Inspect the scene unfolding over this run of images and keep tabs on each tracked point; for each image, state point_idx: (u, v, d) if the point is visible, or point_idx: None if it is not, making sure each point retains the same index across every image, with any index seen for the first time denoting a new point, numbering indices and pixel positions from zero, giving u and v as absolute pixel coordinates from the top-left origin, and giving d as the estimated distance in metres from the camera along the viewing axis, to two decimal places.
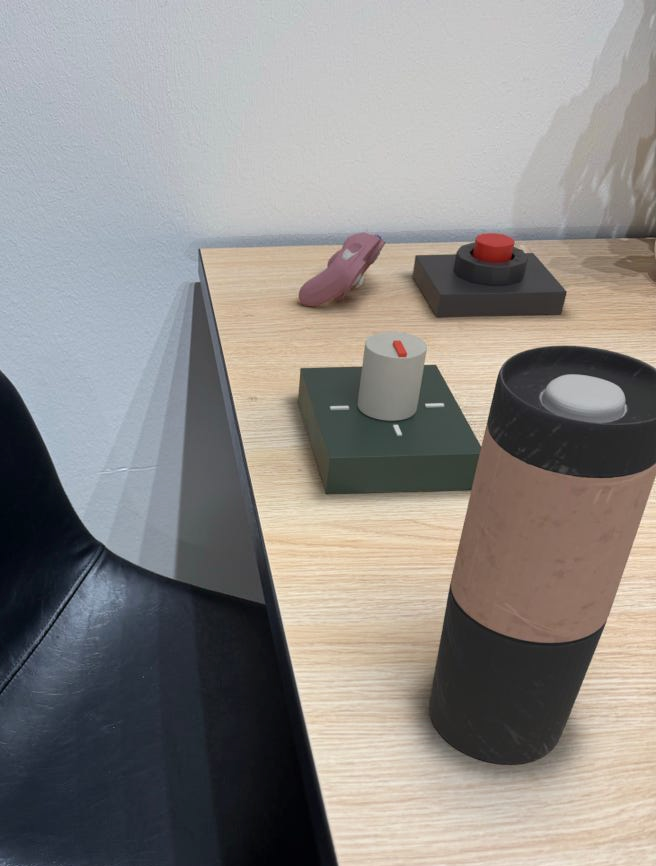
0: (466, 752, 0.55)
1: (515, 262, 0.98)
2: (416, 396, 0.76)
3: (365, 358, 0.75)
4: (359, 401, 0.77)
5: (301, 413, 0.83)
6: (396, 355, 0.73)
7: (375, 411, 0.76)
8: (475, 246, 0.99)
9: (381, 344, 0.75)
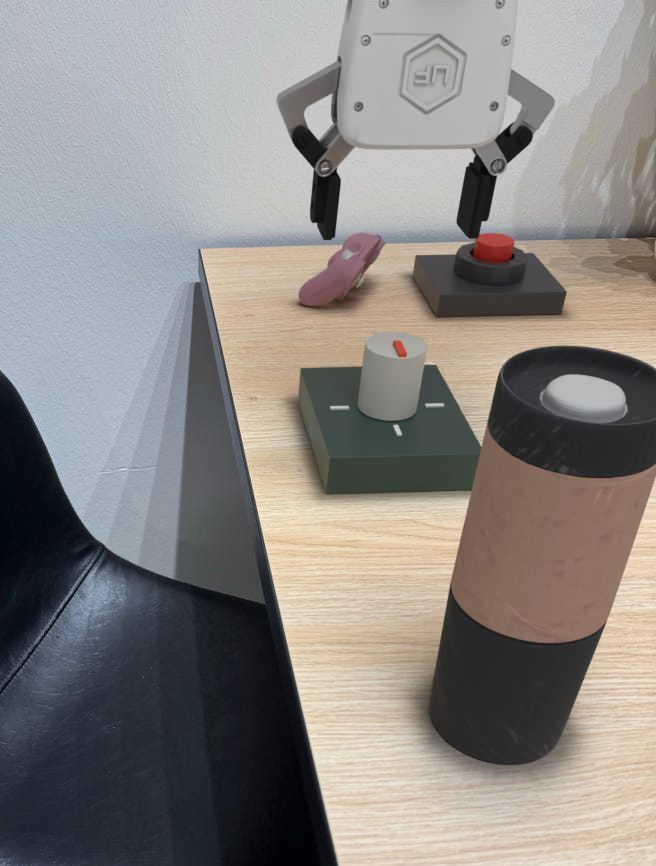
0: (466, 752, 0.55)
1: (515, 262, 0.98)
2: (416, 396, 0.76)
3: (365, 358, 0.75)
4: (359, 401, 0.77)
5: (301, 413, 0.83)
6: (396, 355, 0.73)
7: (375, 411, 0.76)
8: (475, 246, 0.99)
9: (381, 344, 0.75)
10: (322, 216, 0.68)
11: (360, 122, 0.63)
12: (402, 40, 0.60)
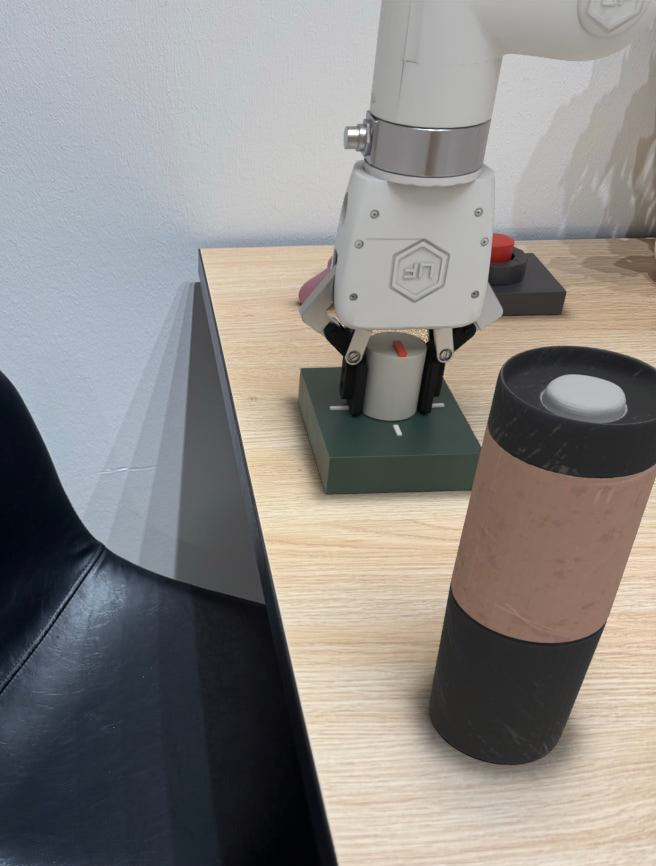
0: (466, 752, 0.55)
1: (515, 262, 0.98)
2: (416, 396, 0.76)
3: (365, 358, 0.75)
4: None
5: (301, 413, 0.83)
6: (396, 355, 0.73)
7: (375, 411, 0.76)
8: None
9: (381, 344, 0.75)
10: (351, 394, 0.76)
11: (355, 309, 0.70)
12: (391, 244, 0.67)
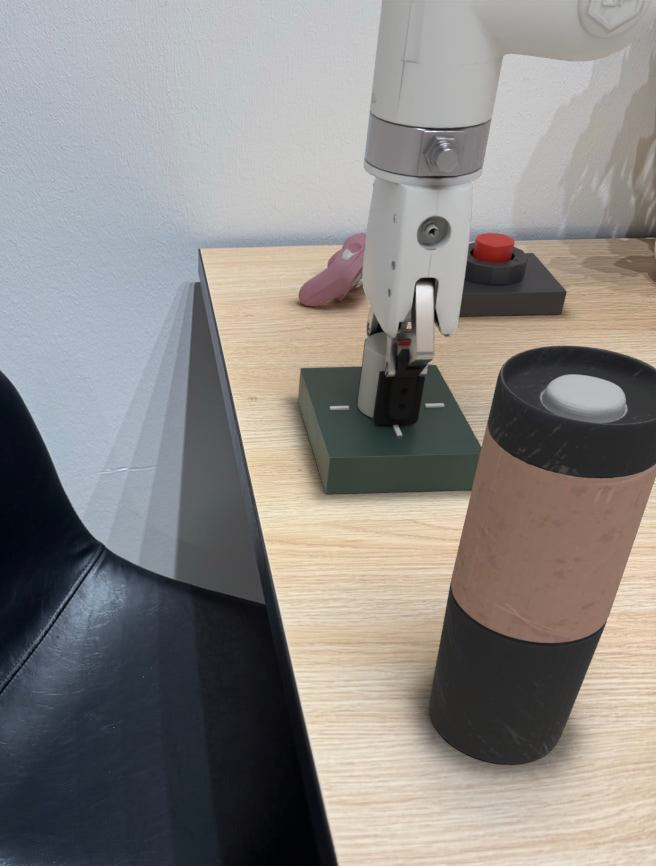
0: (466, 752, 0.55)
1: (515, 262, 0.98)
2: None
3: None
4: None
5: (301, 413, 0.83)
6: None
7: None
8: (475, 246, 0.99)
9: (399, 350, 0.74)
10: None
11: None
12: None
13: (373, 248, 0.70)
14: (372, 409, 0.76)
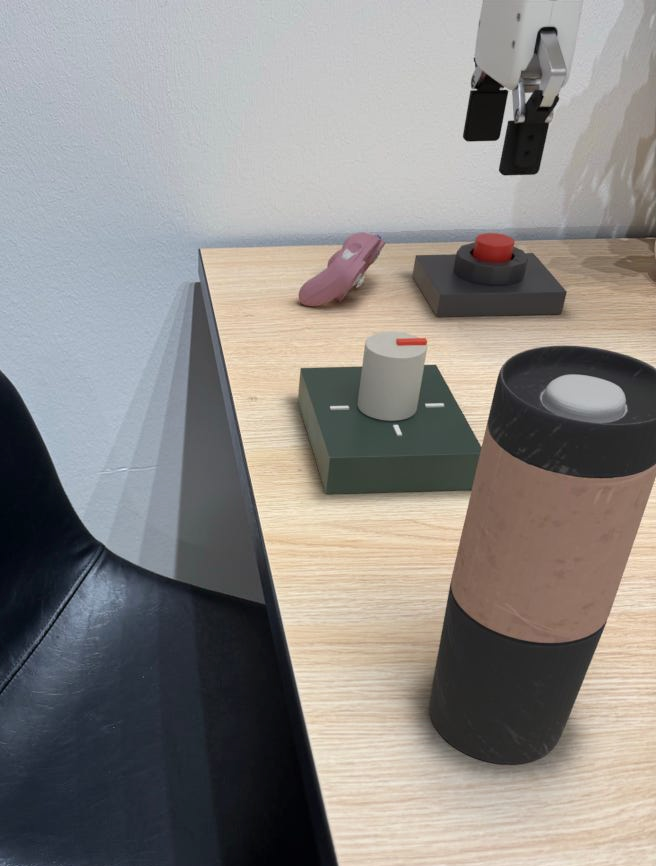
0: (466, 752, 0.55)
1: (515, 262, 0.98)
2: None
3: (404, 369, 0.74)
4: (396, 413, 0.76)
5: (301, 413, 0.83)
6: (422, 345, 0.74)
7: (415, 407, 0.77)
8: (475, 246, 0.99)
9: (399, 350, 0.74)
10: None
11: None
12: None
13: (494, 13, 0.82)
14: (372, 409, 0.76)
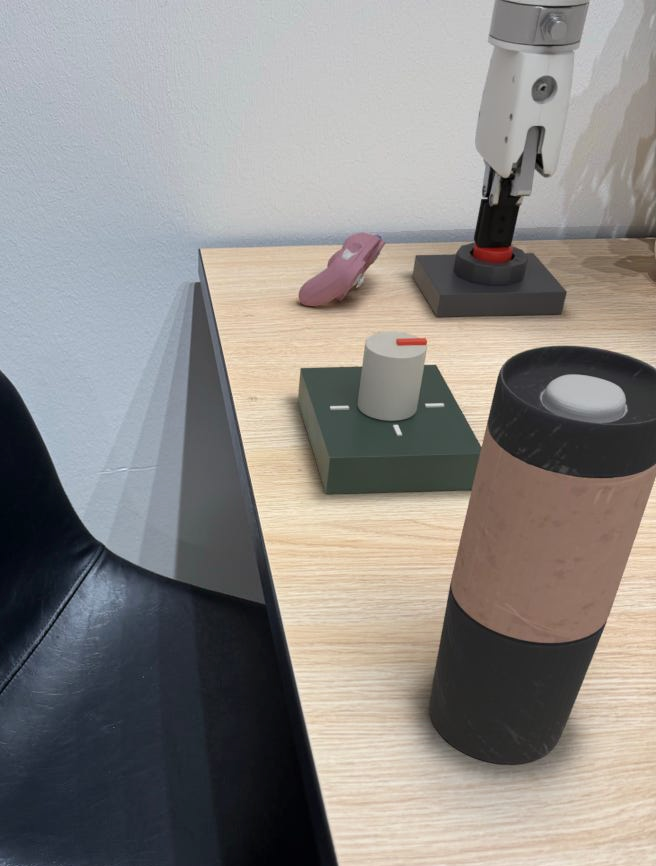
0: (466, 752, 0.55)
1: (515, 262, 0.98)
2: None
3: (404, 369, 0.74)
4: (396, 413, 0.76)
5: (301, 413, 0.83)
6: (422, 345, 0.74)
7: (415, 407, 0.77)
8: (474, 252, 0.99)
9: (399, 350, 0.74)
10: None
11: None
12: None
13: (490, 109, 0.91)
14: (372, 409, 0.76)
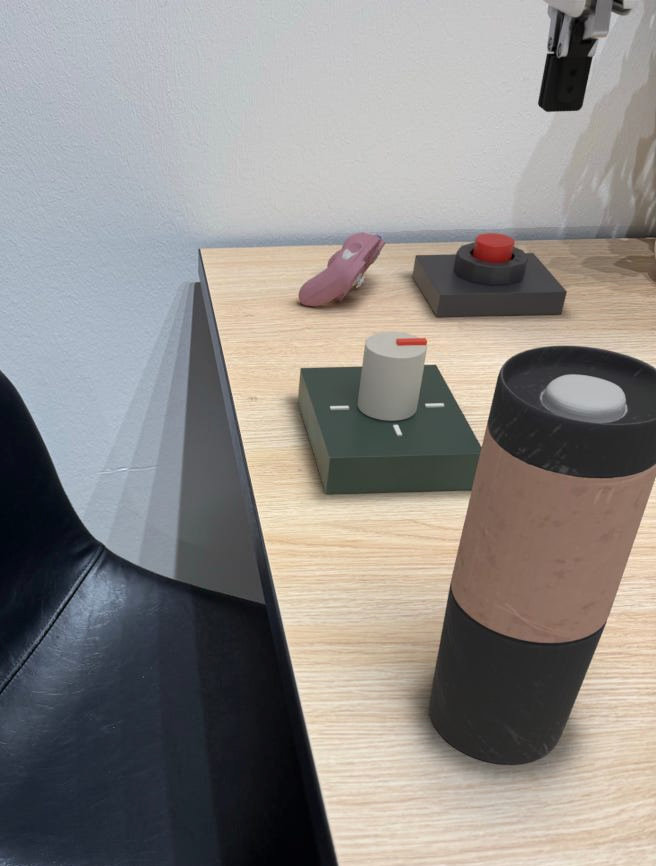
0: (466, 752, 0.55)
1: (515, 262, 0.98)
2: None
3: (404, 369, 0.74)
4: (396, 413, 0.76)
5: (301, 413, 0.83)
6: (422, 345, 0.74)
7: (415, 407, 0.77)
8: (475, 246, 0.99)
9: (399, 350, 0.74)
10: None
11: None
12: None
13: None
14: (372, 409, 0.76)
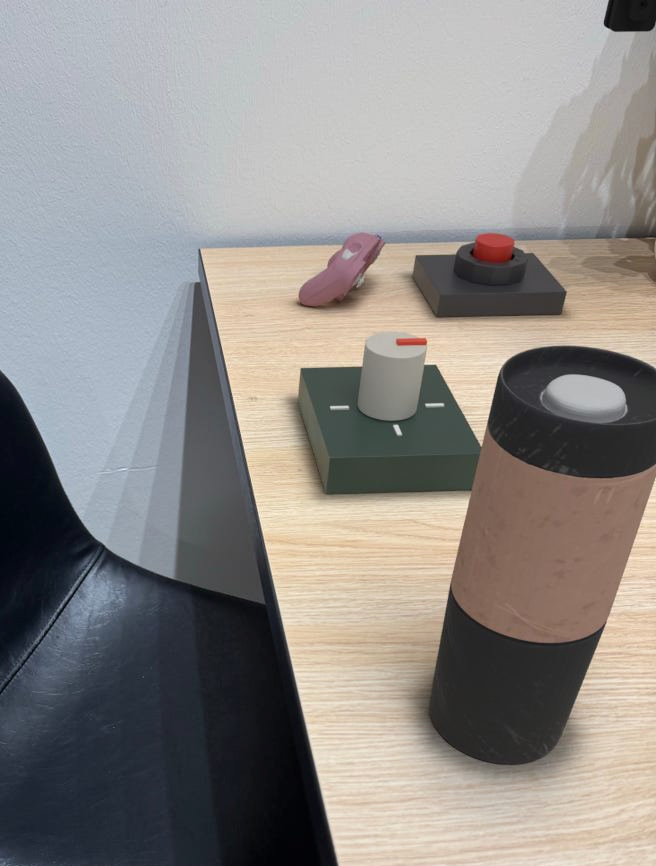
0: (466, 752, 0.55)
1: (515, 262, 0.98)
2: None
3: (404, 369, 0.74)
4: (396, 413, 0.76)
5: (301, 413, 0.83)
6: (422, 345, 0.74)
7: (415, 407, 0.77)
8: (475, 246, 0.99)
9: (399, 350, 0.74)
10: None
11: None
12: None
13: None
14: (372, 409, 0.76)
